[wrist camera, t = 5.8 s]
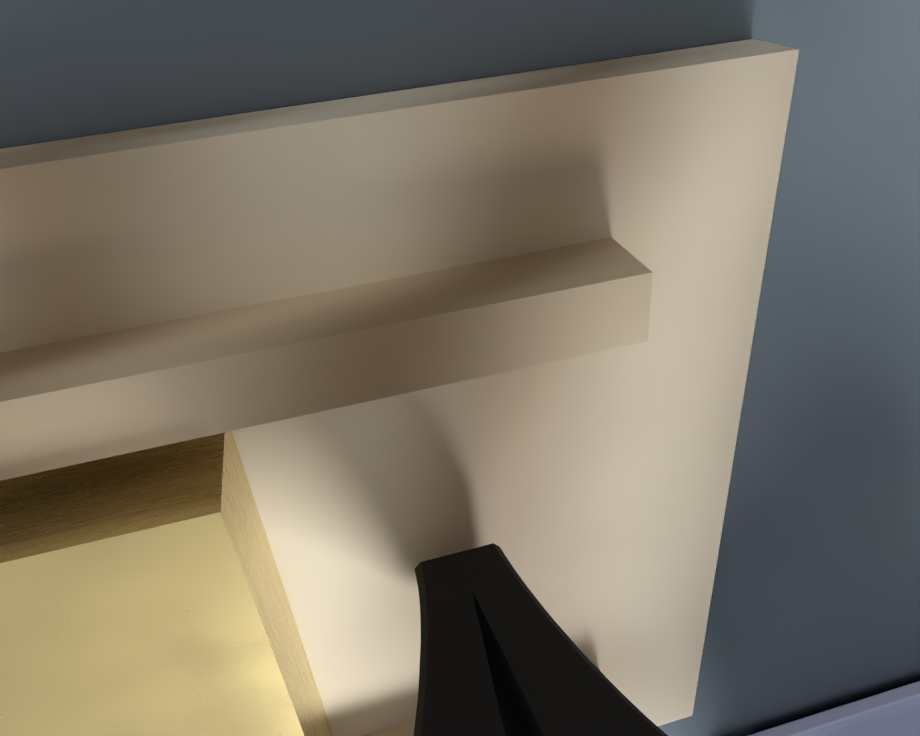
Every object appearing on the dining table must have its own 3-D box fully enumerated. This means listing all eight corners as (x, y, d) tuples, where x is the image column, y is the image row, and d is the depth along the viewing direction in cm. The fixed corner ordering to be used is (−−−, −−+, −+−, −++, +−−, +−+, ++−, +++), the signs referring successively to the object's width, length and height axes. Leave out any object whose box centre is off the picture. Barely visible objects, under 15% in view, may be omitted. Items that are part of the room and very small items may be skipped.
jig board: (753, 38, 10) (867, 63, 8) (672, 679, 18) (719, 763, 16) (-1298, 338, 7) (-1894, 495, 5) (-258, 957, 15) (-330, 1102, 13)
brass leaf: (225, 412, 10) (219, 536, 8) (333, 734, 14) (346, 867, 12) (-400, 544, 9) (-597, 731, 7) (-71, 851, 13) (-130, 1019, 11)
